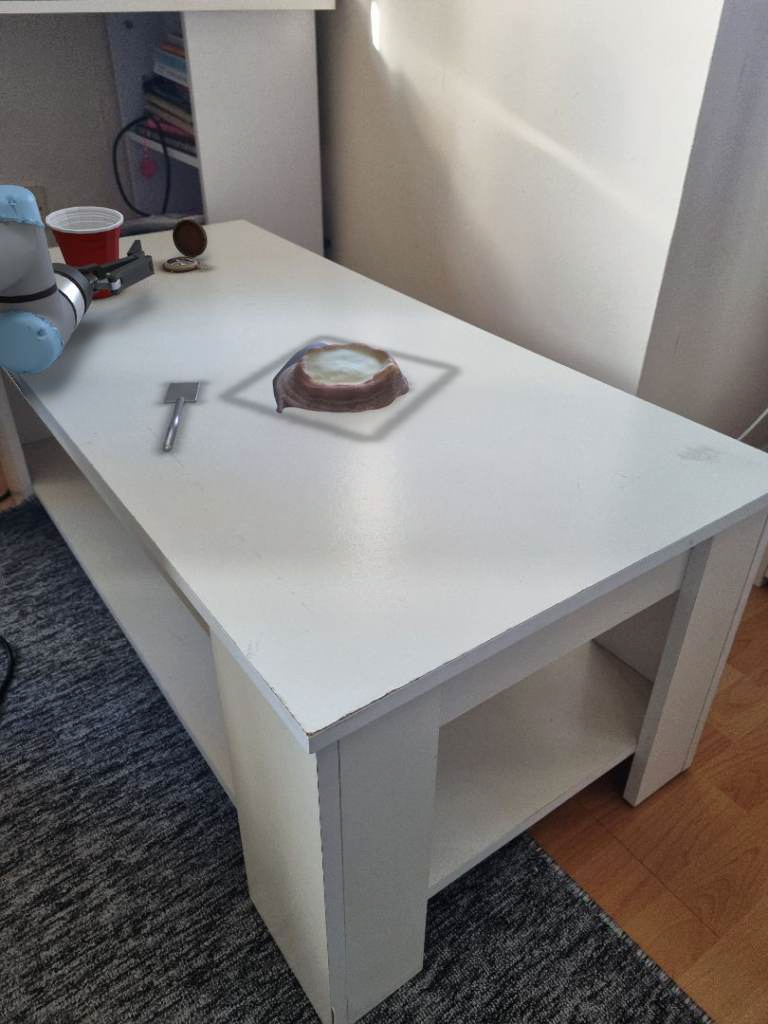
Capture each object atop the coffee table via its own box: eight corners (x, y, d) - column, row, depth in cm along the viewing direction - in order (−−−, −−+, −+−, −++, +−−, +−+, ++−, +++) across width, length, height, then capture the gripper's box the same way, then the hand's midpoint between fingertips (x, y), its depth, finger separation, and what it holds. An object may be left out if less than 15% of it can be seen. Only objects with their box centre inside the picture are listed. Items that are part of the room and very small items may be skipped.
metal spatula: (149, 456, 84) (148, 448, 84) (171, 388, 97) (169, 381, 96) (184, 455, 84) (183, 447, 84) (201, 387, 97) (200, 380, 97)
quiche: (321, 340, 109) (320, 312, 107) (456, 373, 101) (458, 343, 99) (223, 401, 94) (219, 370, 92) (371, 446, 86) (370, 412, 84)
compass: (155, 273, 132) (148, 228, 127) (179, 259, 138) (173, 215, 134) (199, 278, 130) (193, 232, 125) (221, 264, 136) (216, 219, 132)
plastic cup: (90, 314, 117) (73, 230, 110) (49, 297, 122) (29, 216, 116) (151, 294, 124) (138, 213, 117) (109, 279, 129) (94, 201, 123)
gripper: (-38, 331, 103) (13, 276, 121) (159, 326, 105) (181, 273, 122) (-56, 273, 99) (-1, 225, 116) (149, 269, 101) (174, 222, 118)
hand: (92, 249), depth 119 cm, fingers open, 13 cm apart
